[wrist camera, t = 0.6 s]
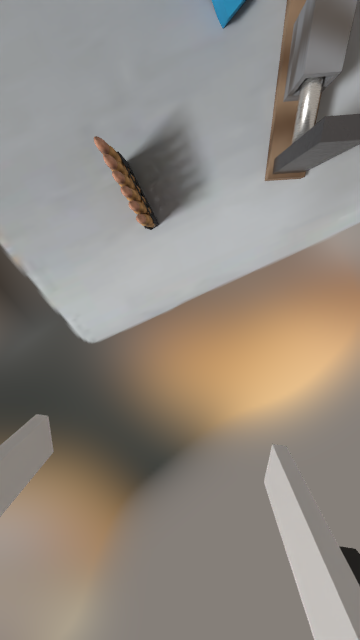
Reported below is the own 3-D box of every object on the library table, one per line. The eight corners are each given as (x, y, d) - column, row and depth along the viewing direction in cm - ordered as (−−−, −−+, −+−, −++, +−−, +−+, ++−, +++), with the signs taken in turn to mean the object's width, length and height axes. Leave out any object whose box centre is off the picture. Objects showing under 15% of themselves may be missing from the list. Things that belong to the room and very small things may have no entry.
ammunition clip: (118, 168, 31) (82, 133, 20) (127, 161, 31) (95, 122, 20) (150, 230, 35) (135, 228, 24) (159, 225, 35) (147, 221, 24)
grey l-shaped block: (303, 172, 29) (369, 139, 19) (272, 174, 30) (319, 142, 19) (334, 17, 23) (459, -164, 12) (293, 21, 23) (383, -154, 13)
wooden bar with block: (300, 178, 31) (329, 165, 25) (264, 180, 31) (284, 168, 25) (350, -82, 21) (420, -215, 15) (296, -76, 21) (342, -203, 15)
